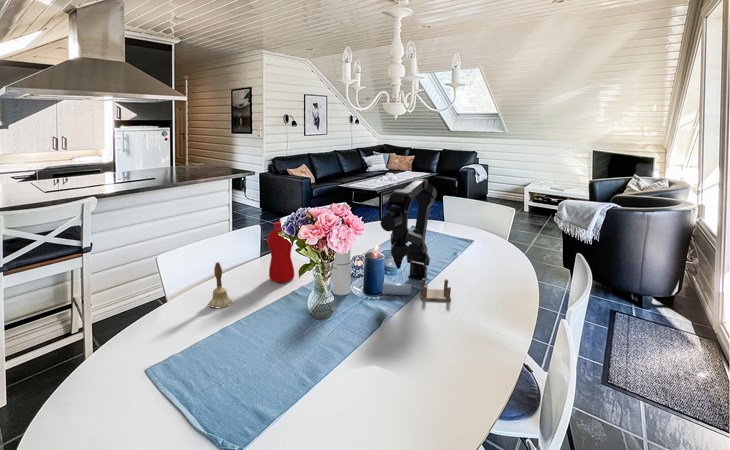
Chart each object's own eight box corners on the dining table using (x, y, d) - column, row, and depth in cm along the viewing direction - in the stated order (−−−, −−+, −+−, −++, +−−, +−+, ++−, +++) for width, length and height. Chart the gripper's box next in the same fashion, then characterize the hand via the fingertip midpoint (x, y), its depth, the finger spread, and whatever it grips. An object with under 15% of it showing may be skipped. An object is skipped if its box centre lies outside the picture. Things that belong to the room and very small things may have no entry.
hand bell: (232, 297, 147) (229, 257, 143) (232, 307, 139) (228, 265, 135) (209, 299, 145) (205, 259, 140) (207, 310, 137) (203, 268, 133)
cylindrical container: (347, 296, 149) (348, 234, 142) (330, 294, 151) (329, 233, 144) (352, 288, 156) (352, 229, 149) (335, 286, 157) (334, 227, 150)
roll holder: (422, 300, 147) (423, 287, 145) (420, 291, 154) (421, 278, 153) (450, 301, 146) (451, 288, 145) (447, 292, 154) (448, 279, 152)
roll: (382, 295, 149) (382, 283, 149) (382, 293, 154) (382, 282, 154) (411, 296, 149) (411, 284, 149) (410, 294, 153) (410, 283, 153)
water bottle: (300, 276, 167) (298, 220, 160) (282, 285, 158) (279, 226, 151) (284, 271, 171) (282, 217, 164) (266, 280, 162) (262, 222, 156)
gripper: (423, 232, 134) (421, 274, 138) (419, 219, 152) (417, 256, 156) (391, 231, 135) (390, 273, 139) (391, 218, 152) (389, 255, 157)
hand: (398, 264), depth 148 cm, fingers open, 9 cm apart
